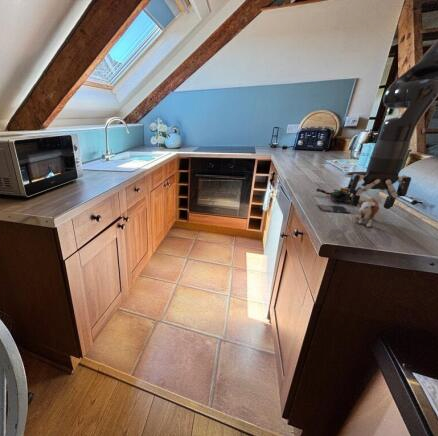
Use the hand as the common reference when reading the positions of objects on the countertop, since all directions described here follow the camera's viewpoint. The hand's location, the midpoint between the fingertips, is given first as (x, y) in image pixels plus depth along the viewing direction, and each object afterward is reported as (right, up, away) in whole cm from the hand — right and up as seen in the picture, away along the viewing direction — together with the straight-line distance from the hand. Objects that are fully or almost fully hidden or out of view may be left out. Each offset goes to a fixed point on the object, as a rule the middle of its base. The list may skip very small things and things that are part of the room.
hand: (369, 207), depth 78 cm
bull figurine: (-1, -5, +1) cm, 5 cm away
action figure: (+10, +4, +22) cm, 25 cm away
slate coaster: (-2, 0, +12) cm, 13 cm away
